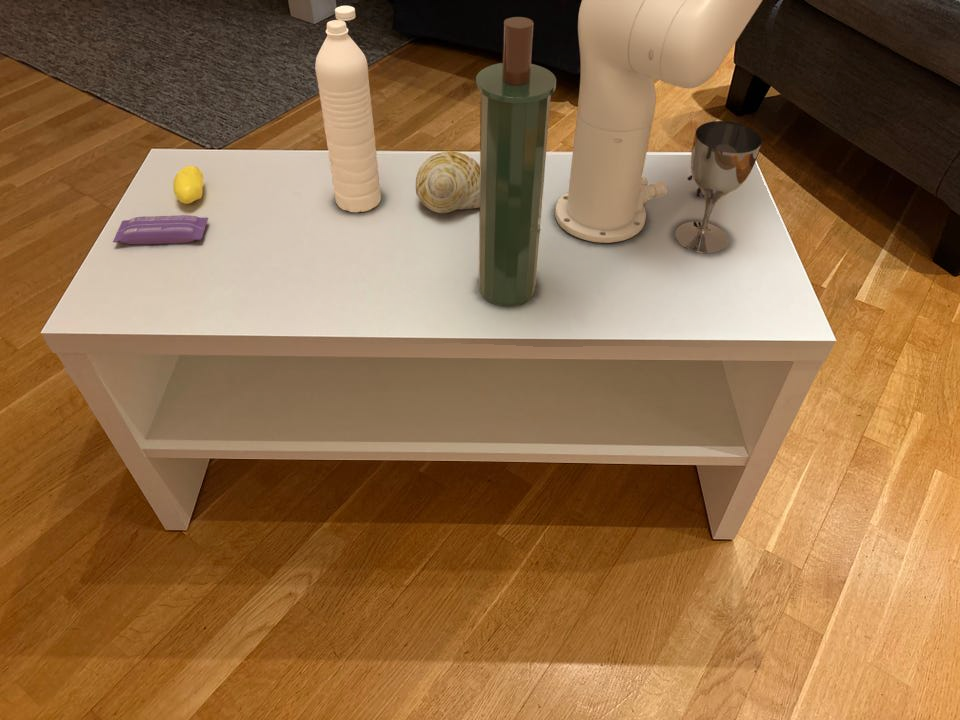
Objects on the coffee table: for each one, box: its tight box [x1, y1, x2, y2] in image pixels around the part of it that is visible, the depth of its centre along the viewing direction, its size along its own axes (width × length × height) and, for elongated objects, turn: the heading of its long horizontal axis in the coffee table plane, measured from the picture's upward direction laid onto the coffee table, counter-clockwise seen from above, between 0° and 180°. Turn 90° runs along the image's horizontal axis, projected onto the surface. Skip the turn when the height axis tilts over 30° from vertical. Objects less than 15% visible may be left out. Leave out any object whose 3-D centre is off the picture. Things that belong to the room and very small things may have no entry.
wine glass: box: [674, 120, 763, 254], centre depth 95 cm, size 8×8×15 cm
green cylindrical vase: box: [478, 93, 552, 307], centre depth 83 cm, size 7×7×26 cm
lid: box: [475, 16, 557, 103], centre depth 72 cm, size 8×8×7 cm
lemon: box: [172, 165, 205, 205], centre depth 105 cm, size 4×8×4 cm, turn 5°
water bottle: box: [314, 5, 382, 213], centre depth 98 cm, size 9×6×25 cm
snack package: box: [112, 214, 209, 245], centre depth 99 cm, size 12×2×5 cm
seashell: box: [415, 150, 480, 214], centre depth 104 cm, size 10×10×10 cm
